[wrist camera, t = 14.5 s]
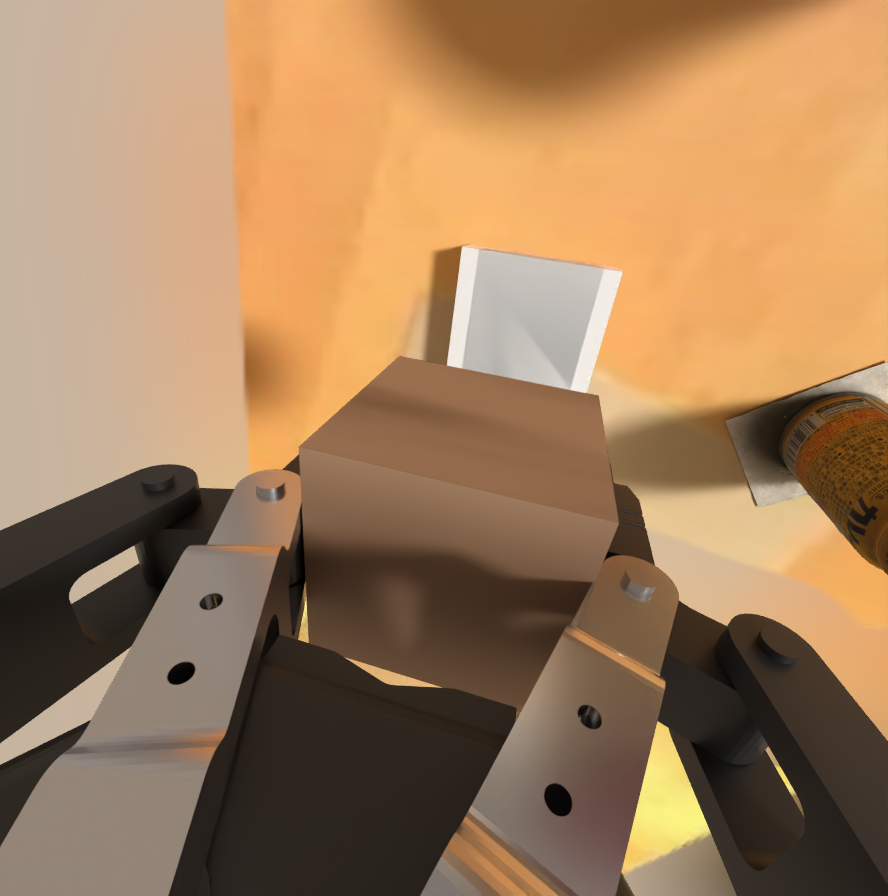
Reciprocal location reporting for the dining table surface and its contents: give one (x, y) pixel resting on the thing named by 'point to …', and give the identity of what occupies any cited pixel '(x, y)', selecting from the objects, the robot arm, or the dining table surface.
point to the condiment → (826, 455)
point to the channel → (530, 316)
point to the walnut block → (455, 525)
